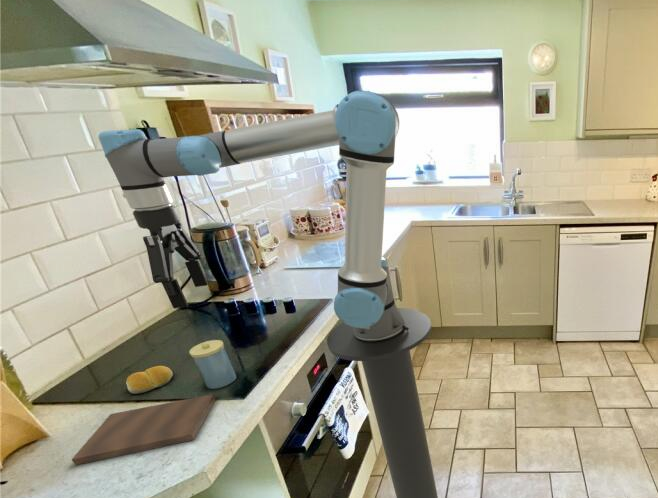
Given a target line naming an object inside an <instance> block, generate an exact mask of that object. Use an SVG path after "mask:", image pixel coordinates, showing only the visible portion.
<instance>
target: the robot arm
mask: <svg viewBox="0 0 658 498" xmlns="http://www.w3.org/2000/svg"><path fill="white" fill-rule="evenodd" d="M399 130H400V118H399V113H398V111H397V109H396V107H395V106H394V104H393V103H392V102H391V101H390V100H389V99H388V98H386V97H385V96H383V95H381V94H379V93H376V92H373V91H370V90H362V89H359V90H354V91H352V92H350V93H348V94H346V95H345V96H343V98H342V99H341V100H340V102H339V103H337V104H335V106H334V107H333V109H331V110H326V111H321V112H317V113H311V114H306V115H300V116H295V117H290V118H284V119H279V120H273V121H269V122H268V121H267V122H263V123H258V124H253V125H248V126H241V127H237V128H232V129H227V130H221V131H220V130H219V131H214V132H209V133H204V134H197V135H188V136H186V135H185V136H178V137H167V138H165V137H164V138H148V137H147V136H146V134H145V132H144V131H143V130H142V129H138V128H137V129H119V130H117V129H116V130H104V131H100V133H98V141H99V142H100V145H101V148H102V150H103V153H104V157H105V158H106V160H107V162H108V164H109V166H110V168H111V169H112V171H113V174H114V175H115V178H116V180H117V181H118V183H119V186H120V188H121V191H122V197H123V198H124V199H126V202H127V204H128V206H129V208H130V209H133V211H132V215H133V217H134V219H135V222H136V224H137V226H138V227H139V228H140V229H143V230H144V229H145V230H148V232H149V234H150V235H147V236H146V235H145V236H142V240H143V244H144V245H145V248H146V253H147V256H148V257H147V258H148V262H149V267H150V273H151V276H152V277H151V278H152V281H153V283H154V284H161V285H162V287H163V289H164V291H165V293H166V295H167V298H168V299H169V302H170V304H171V306H172V308H173V309H180V308H181V309H182V308H188V306H189V304H188V301H187V299H186V296H185V295H184V292H183V290H182V287H181V285H180V283H179V281H178V279H177V278H174V260H173V254H174V253H175V252H177V254H179V255H180V256H181V257H182V258H183V259H184V260H185V262H184V264H185V266H186V269H187V272H188V273H189V276H190V278H191V280H192V283H193V285H194V287H195V288H198V287H206V286H209V283H208V280H207V278H206V275H205V273H204V271H203V268H202V266H201V263H200V260H202V259H203V256H202V255H201V252H200V250H199V249H198V248H197V245H196V244H195V243H194V242H193V240H192V239H191V237H190V236H189V234H188V233H187V232H186V230H185V228H184V226H183V224H182V222H181V217H180V216H179V213H178V211H177V208H176V206H175V205H172V203H173V202H174V200H173V198H172V196H171V193H170V191H169V189H168V186H167V185H166V181H165V179H164V178H170V177H189V176H201V177H202V176H206V175H211V174H212V175H213V174H216V173H218V172H219V171H220V169H222V168H226V167H231V166H236V165H240V164H245V163H246V164H247V163H251V162H257V161H263V160H268V159H273V158H277V157H283V156H289V155H293V154H294V155H295V154H298V153H299V154H300V153H303V152H308V151H309V152H310V151H315V150H320V149H324V148H330V147H331V148H332V147H336V146H338V155H339V157H340V158H341V159H342V161H344V163H345V166H346V167H345V169H346V171H345V221H344V222H345V225H344V227H345V228H344V263H343V265H342V266H341V267H339V269H338V271H337V293H336V295H335V297H334V300H333V310H334V313H335V316H336V317H337V318H338V319H339V321H341V322H342V323H343V322H344V323H345V324H347V325H349V326H352V327H353V332H354V336H355V338H356V339H357V340H359V341H361V342H367V343H375V342H382V341H386V340H389V339H392V338H394V337H396V336H398V335H400V334H401V333H402V332H403V331H404V330H407V331H408V329H409V328H408V327H406V325H405V321H404V318H403V316H402V315H401V313H400V311H399V310H398V308H399V307H398V306H397V305H396V302H395V295H394V291H393V286H392V281H391V276H390V270H389V268H390V266H389V264H388V262H387V258H385V257H383V239H384V238H383V237H384V224H385V223H384V219H385V206H386V205H385V203H386V187H387V186H386V185H387V171H388V169H389V168H390V167H392V166H393V165H395V153H396V152H395V150H396V137H397V136H398V133H399Z"/></svg>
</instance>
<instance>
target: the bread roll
mask: <svg viewBox="0 0 658 498" xmlns="http://www.w3.org/2000/svg"><path fill="white" fill-rule="evenodd" d="M173 376H174V373H173V371H172V370H171V368H169V367H167V366H166V365H156V366H152V367H149V368H147V369H145V370H144V371H138V372H137V371H136V372H134V373H131V374H129V375H128V376H127V378H126V382H125V384H126V388H127V390H128V392H129V393H130V394H137V395H138V394H143V393H147V392H150V391H152V390H155V389H156V388H161V387H163V386H164V385H165V386H166V385H167V384H168V383H169V382H170V381H171V379H172V378H173Z"/></svg>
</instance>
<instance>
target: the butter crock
mask: <svg viewBox="0 0 658 498" xmlns="http://www.w3.org/2000/svg"><path fill="white" fill-rule="evenodd" d="M188 353H189V355H190V356H191V358H192V359H193V361H194V363H195V365H196V367H197V370H198V372H199V374H200V376H201V378H202V380H203V382H204V384H205V386H206V388H208V389H210V390H215V389H221V388H224V387H226V386H229V385H230V384H232V383H233V382H234V381H236V379H237V373H236V372H235V369H234V367H233V364H232V362H231V360H230V357H229V355H228V353H227V351H226V348H225V344H224V342H223V340H220V339H212V340H211V339H210V340H206V341H203V342H201V343H198V344H196V345H194V346H193V347H192V348H190V350H189V351H188Z"/></svg>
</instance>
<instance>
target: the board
mask: <svg viewBox="0 0 658 498" xmlns="http://www.w3.org/2000/svg"><path fill="white" fill-rule="evenodd" d="M216 401H217V399H216V396H215V394H214V393H213V394H207V395H201V396H197V397H192V398H186V399H181V400H176V401H171V402H165V403H162V404H156V405H155V404H154V405H150V406H146V407H145V406H144V407H139V408H134V409H129V410H124V411H119V412H113V413H110V414H109V416H107V418H106V419H104V421H103V422H102V423H101V425H99V427H98V428H97V429H96V431H95V432H94V433H93V434H92V435H91V436H90V437H89V438H88V440H87V441H86V442H85V443H84V444H83V446H82V447H81V448H80V449H79V450H78V452H77V453H76V454H75V455H74V456H73V457H72V458H71V461H72V463H73V464H74V465H75V466H79V465H83V464H84V465H85V464H88V463H92V462H97V461H102V460H106V459H112V458H115V457H116V458H117V457H121V456H125V455H126V456H127V455H130V454H134V453H140V452H144V451H148V450H154V449H157V448H163V447H168V446H172V445H176V444H180V443H185V442H191V441H194V440H195V439H196V437H197V435H198V433H199V431H200V430H201V428H202V426H203V424H204V422H205V420H206V418H207V417H208V415H209V413H210V412H211V409H212V407H213V406H214V403H215V402H216Z"/></svg>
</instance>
